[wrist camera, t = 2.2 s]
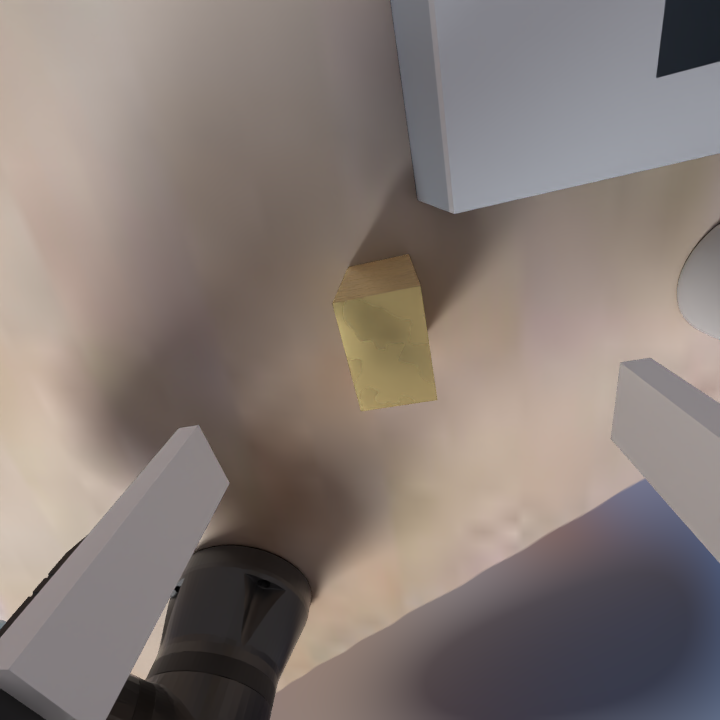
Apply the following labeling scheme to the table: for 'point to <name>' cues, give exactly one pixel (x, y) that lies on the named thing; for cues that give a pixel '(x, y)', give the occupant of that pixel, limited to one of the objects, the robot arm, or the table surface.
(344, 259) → the table surface
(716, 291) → the mug
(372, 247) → the table surface
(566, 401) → the table surface
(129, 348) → the table surface
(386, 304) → the gold rectangular block
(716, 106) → the grey box with hole
